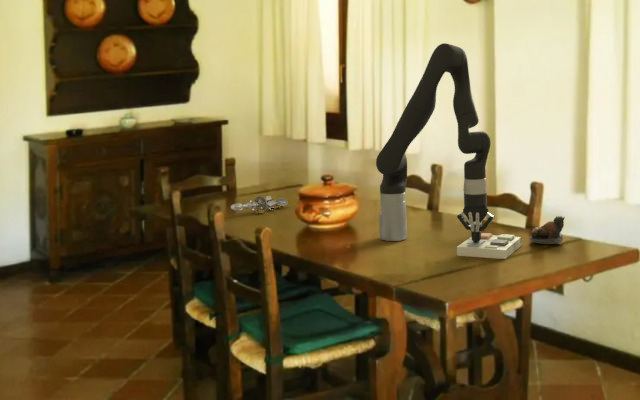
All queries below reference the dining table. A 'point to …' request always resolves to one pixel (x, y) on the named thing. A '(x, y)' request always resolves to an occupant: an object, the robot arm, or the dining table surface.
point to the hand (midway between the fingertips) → (476, 242)
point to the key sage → (505, 237)
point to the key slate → (476, 243)
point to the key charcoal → (499, 242)
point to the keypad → (488, 248)
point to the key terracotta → (486, 236)
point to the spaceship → (260, 204)
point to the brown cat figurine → (549, 232)
